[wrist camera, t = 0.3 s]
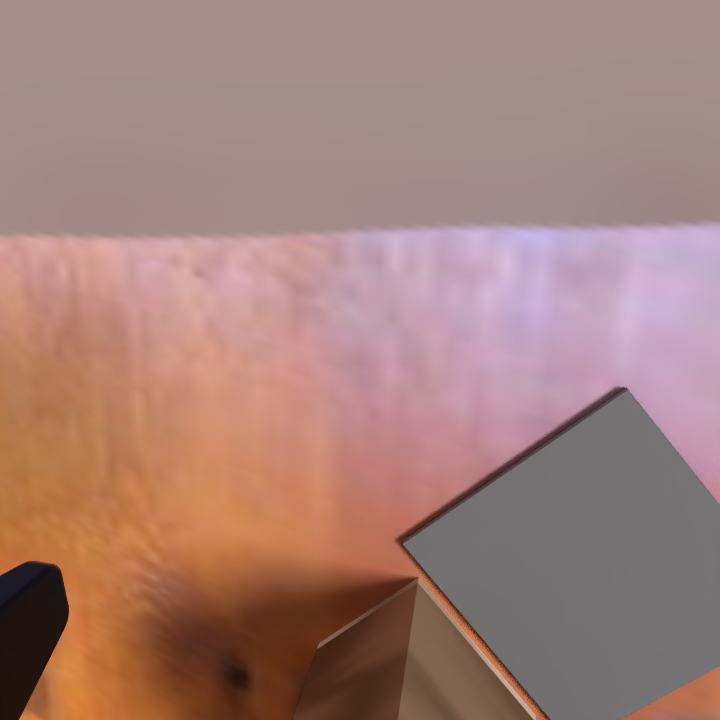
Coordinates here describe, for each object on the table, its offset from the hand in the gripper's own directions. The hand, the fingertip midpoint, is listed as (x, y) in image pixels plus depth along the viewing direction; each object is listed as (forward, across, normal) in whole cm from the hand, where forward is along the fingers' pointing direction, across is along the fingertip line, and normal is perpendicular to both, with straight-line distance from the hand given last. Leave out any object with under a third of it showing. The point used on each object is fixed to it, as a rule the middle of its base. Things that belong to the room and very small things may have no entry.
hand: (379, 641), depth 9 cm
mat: (+13, -6, +10) cm, 18 cm away
